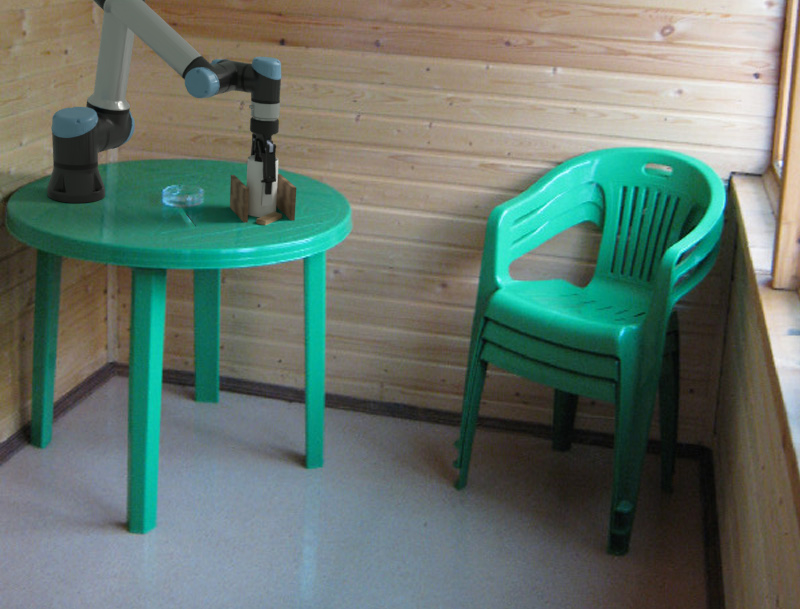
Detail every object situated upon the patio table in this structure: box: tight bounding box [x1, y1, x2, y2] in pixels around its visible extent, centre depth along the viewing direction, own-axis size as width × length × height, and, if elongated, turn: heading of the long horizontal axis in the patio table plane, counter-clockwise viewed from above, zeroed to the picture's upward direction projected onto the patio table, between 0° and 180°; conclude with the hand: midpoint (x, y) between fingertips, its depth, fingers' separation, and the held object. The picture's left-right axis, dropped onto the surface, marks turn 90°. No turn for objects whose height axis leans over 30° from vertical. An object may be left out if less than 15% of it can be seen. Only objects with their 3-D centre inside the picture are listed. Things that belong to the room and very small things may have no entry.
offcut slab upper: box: [256, 211, 283, 226], centre depth 281 cm, size 3×9×2 cm, turn 156°
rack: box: [229, 173, 297, 224], centre depth 285 cm, size 14×14×10 cm
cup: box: [246, 155, 279, 218], centre depth 284 cm, size 8×8×16 cm
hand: (261, 200), depth 286 cm, fingers open, 9 cm apart
